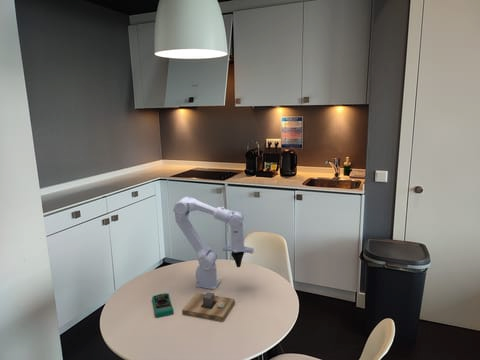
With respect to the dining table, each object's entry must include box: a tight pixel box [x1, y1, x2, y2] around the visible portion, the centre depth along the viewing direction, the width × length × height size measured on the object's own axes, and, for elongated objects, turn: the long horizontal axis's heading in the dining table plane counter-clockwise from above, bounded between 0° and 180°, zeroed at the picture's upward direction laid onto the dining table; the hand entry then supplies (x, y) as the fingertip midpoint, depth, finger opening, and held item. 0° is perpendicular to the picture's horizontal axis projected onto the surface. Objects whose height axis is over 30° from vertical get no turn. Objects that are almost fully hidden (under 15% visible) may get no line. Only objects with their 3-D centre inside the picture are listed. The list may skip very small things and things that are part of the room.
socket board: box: [181, 292, 235, 322], centre depth 152 cm, size 18×14×3 cm
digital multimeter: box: [151, 293, 174, 318], centre depth 154 cm, size 7×15×3 cm, turn 19°
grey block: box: [203, 291, 215, 309], centre depth 151 cm, size 3×4×6 cm
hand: (238, 266), depth 167 cm, fingers closed
